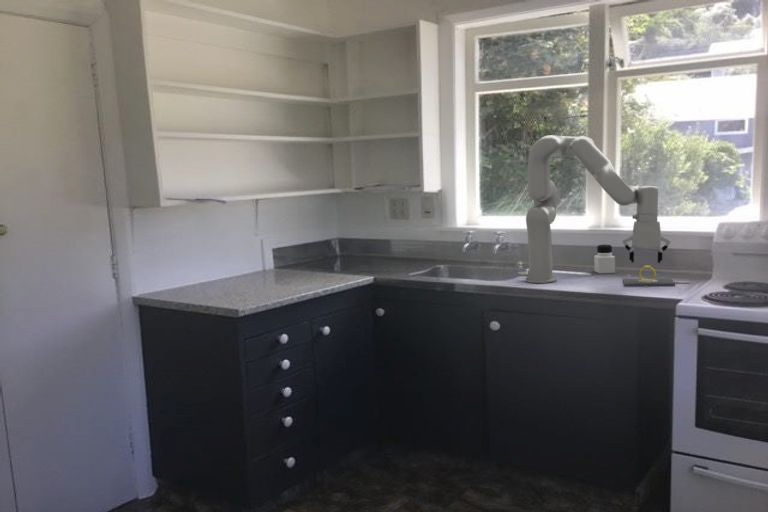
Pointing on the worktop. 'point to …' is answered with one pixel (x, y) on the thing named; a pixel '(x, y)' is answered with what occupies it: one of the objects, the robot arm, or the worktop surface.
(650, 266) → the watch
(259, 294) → the worktop surface
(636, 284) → the charging pad
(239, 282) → the worktop surface
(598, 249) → the medicine bottle
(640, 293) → the worktop surface
